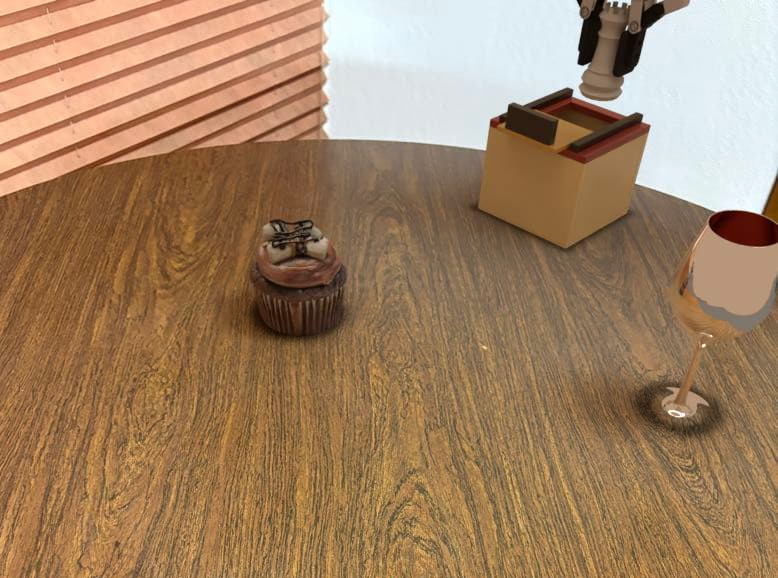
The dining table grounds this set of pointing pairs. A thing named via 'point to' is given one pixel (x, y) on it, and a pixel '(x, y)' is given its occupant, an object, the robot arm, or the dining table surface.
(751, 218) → the wineglass
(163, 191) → the dining table surface
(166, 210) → the dining table surface
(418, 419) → the dining table surface
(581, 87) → the rook chess piece
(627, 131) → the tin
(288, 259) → the cupcake
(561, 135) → the slider
